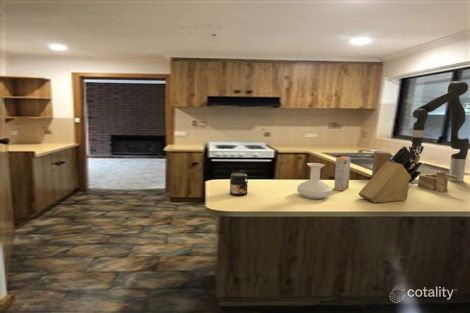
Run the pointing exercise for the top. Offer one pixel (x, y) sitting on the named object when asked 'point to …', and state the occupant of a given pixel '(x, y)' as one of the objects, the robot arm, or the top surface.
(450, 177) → the wooden peg
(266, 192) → the top surface
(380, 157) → the wooden block
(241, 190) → the supplement container
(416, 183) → the mat
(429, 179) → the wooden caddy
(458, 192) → the top surface
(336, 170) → the cracker box
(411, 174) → the knife block
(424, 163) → the lid
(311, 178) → the white vase
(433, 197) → the top surface
